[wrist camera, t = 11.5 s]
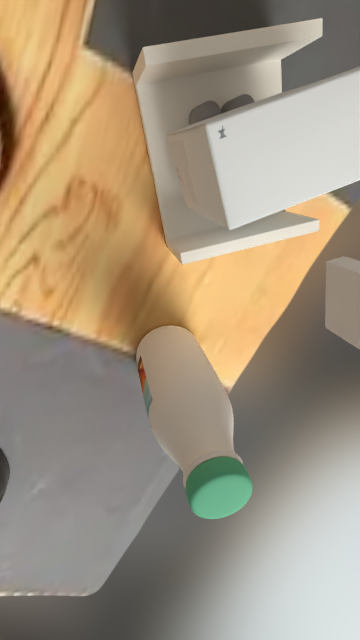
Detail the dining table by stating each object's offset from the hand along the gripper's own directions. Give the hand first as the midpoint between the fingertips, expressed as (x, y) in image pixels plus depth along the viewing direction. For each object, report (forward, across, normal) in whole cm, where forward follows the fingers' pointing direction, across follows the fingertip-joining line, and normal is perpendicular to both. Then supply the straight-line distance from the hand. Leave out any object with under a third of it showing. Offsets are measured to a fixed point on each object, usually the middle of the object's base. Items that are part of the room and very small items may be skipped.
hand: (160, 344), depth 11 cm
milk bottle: (+24, +3, -15) cm, 29 cm away
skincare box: (+20, +12, +5) cm, 24 cm away
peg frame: (+24, +12, +5) cm, 27 cm away
